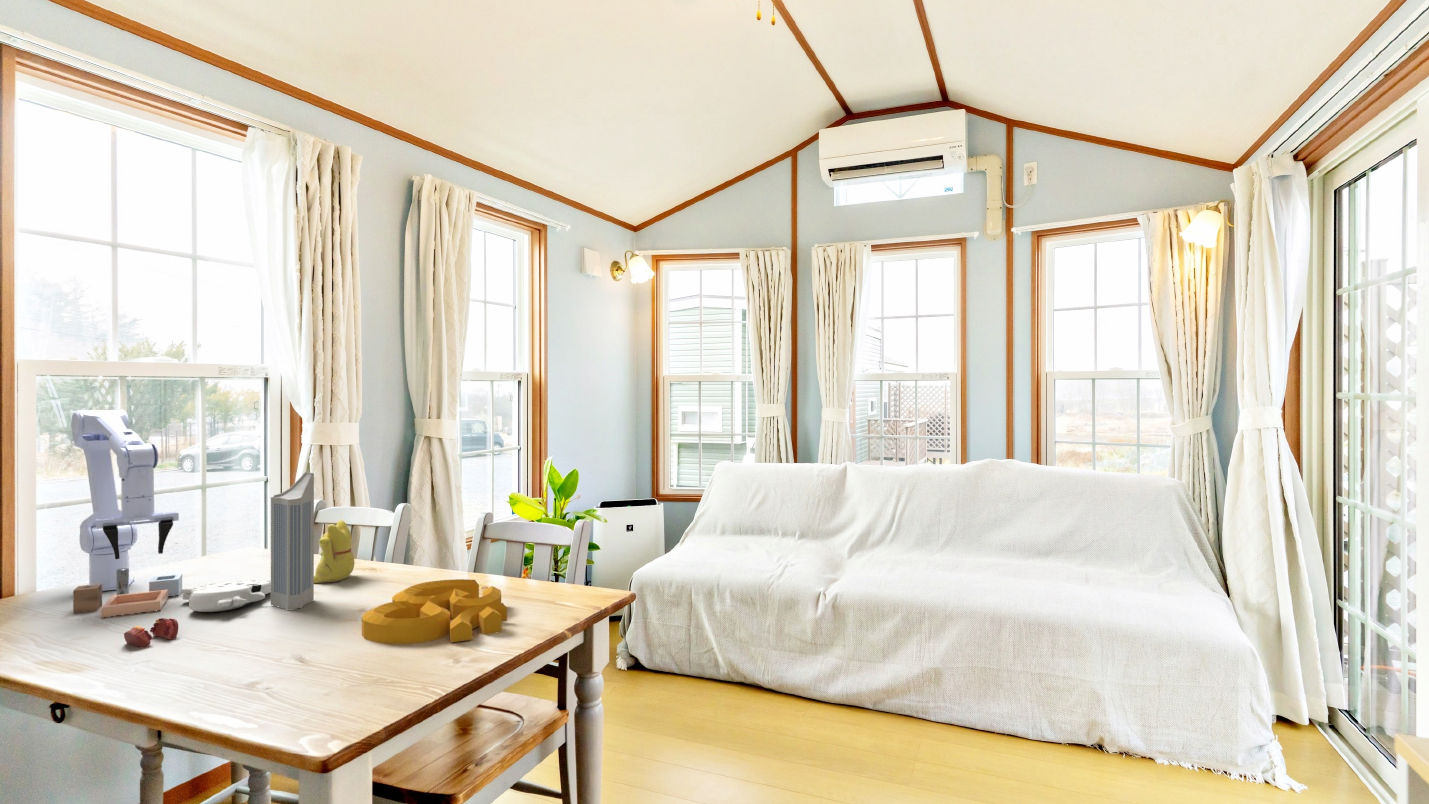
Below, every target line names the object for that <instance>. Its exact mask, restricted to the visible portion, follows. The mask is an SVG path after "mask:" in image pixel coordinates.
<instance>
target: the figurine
mask: <svg viewBox="0 0 1429 804" xmlns="http://www.w3.org/2000/svg"><path fill="white" fill-rule="evenodd" d="M352 541H353V539H352V531H351V530H350V529H349V527H348V524H347V522H346V521H344V520H342V519H340V520H338V521H337V523H336V525H335V524H332V523H331V524H329V525H328V526H327V532H325V533H324V534H323V536H322V537H321V538H320V539H319V540H318V544H319V547H320V548H321V550H322V552H320V556H321V558H320V560H319V562H318V564H317V566H316V568H315V574H314V584H325V583H334V582H339V581H342V580H345V579H346V578H348V577H349V576H351V574H352V572H353V571H354V568H355V556H354V553H353V551H352Z"/></svg>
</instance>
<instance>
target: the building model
mask: <svg viewBox="0 0 1429 804" xmlns="http://www.w3.org/2000/svg"><path fill="white" fill-rule="evenodd" d="M314 473H315V472H308V471H307V472H304V473H303V474H302V475H301V476H300V477H299V478H298V479H297V480H296V481H295V482H294V483H293V484H292V485H291V486H290V487H289V488H287V489H286V490H285V491H282V492H281V493H276V494H274V495H272V497H271V496H270V582H271V592H270V606H271V605H273V606H272V607H275V606H279V607H278V608H280V607H282V608H281V609H283V608H285V609H284V610H286V609H287V610H286V611H291V610H290V609H294V610H298V609H297V608H301V607H304V606H305V605H307V604H308V603H311V602H313V601H314V599H315V597H314V593H315V592H314V589H315V587H314V584H315V583H314V576H315V574H314V573H315V572H314V571H315V570H314V567H315V566H314V565H315V563H314V560H315V558H314V557H315V553H314V552H315V551H314V550H315V540H314V539H315V535H314V534H315V532H314V531H315V500H314V499H315V474H314ZM312 600H313V601H312ZM310 601H311V602H310ZM306 603H307V604H306ZM304 604H305V605H304ZM303 605H304V606H303ZM301 609H302V608H301Z"/></svg>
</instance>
